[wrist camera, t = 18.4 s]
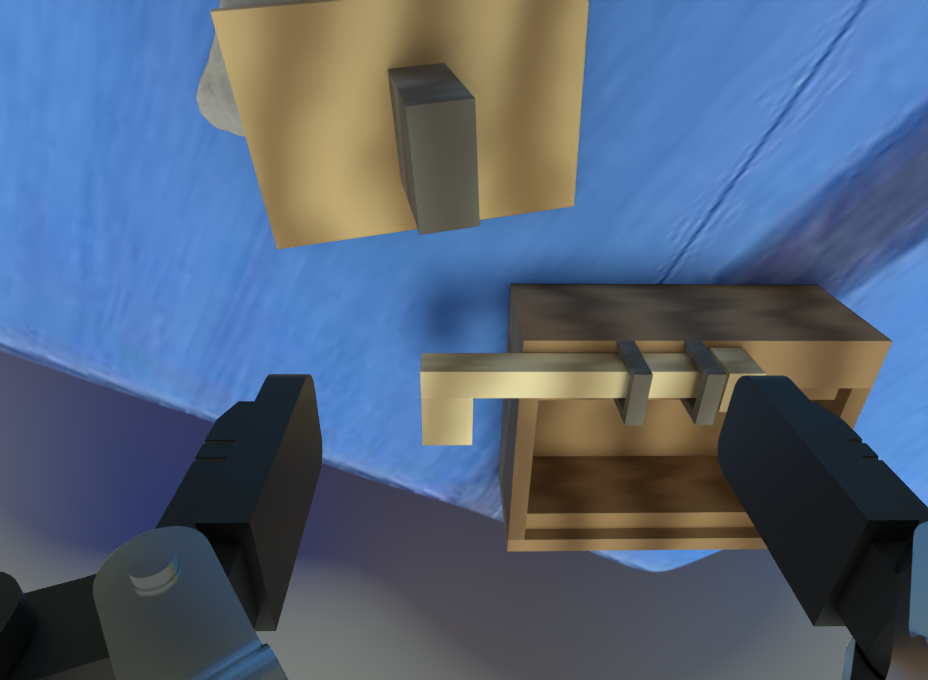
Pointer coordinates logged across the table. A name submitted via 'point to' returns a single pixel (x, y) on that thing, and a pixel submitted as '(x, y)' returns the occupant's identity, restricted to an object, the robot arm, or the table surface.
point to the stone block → (223, 81)
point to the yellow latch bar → (552, 382)
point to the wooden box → (660, 408)
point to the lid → (406, 111)
